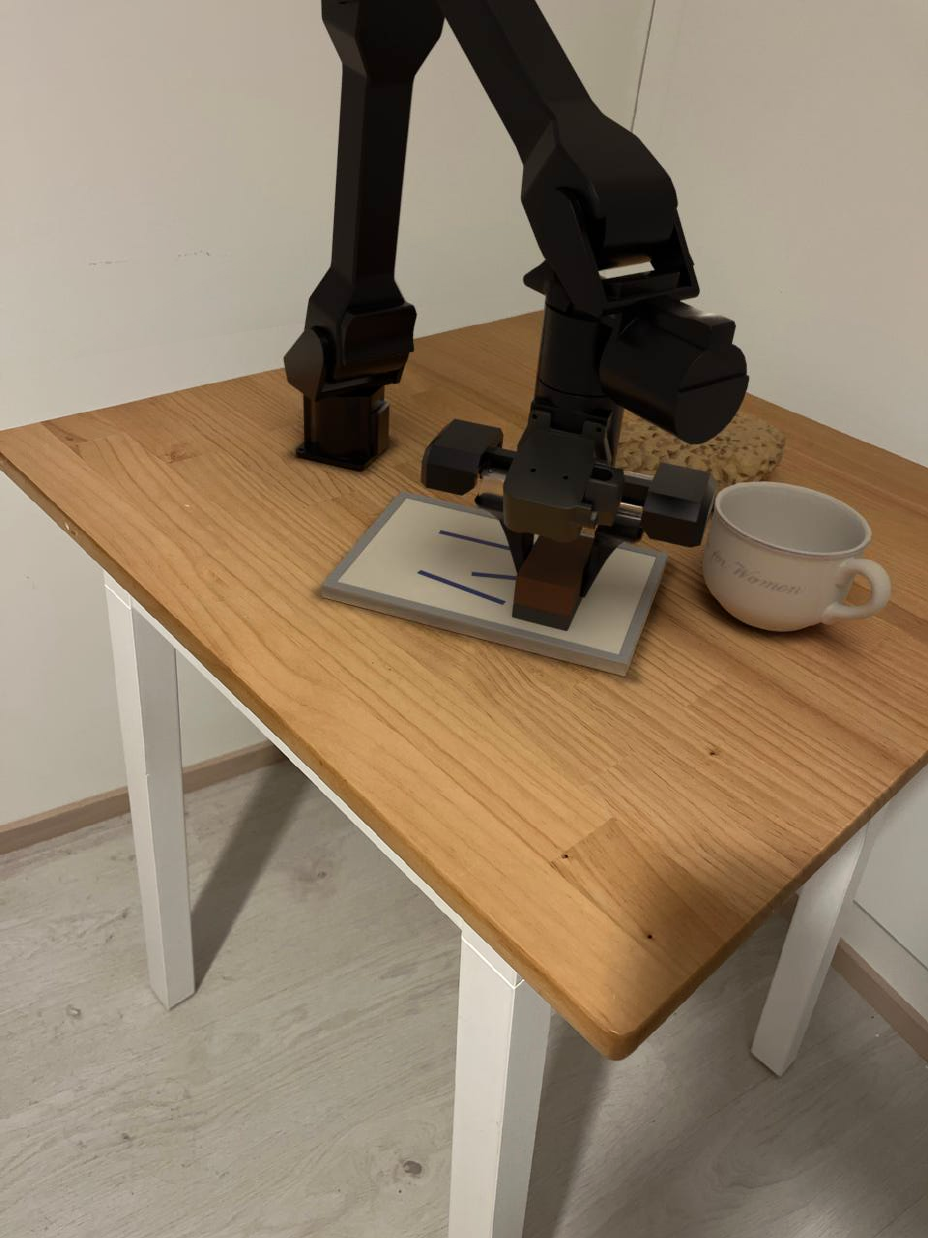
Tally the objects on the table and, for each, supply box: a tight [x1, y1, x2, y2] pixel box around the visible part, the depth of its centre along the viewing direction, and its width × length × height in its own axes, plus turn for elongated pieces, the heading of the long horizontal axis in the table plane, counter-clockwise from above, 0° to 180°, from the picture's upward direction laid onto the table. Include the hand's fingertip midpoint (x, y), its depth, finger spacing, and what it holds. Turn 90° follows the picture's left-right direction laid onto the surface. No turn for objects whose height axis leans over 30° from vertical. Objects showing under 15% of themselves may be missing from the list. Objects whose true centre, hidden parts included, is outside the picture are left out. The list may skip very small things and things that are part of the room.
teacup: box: [702, 480, 892, 633], centre depth 75 cm, size 14×11×8 cm
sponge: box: [615, 410, 787, 502], centre depth 91 cm, size 13×8×20 cm
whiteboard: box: [321, 490, 670, 678], centre depth 79 cm, size 22×15×1 cm
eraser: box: [512, 535, 594, 631], centre depth 75 cm, size 4×7×4 cm, turn 161°
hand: (553, 587), depth 75 cm, fingers closed on eraser, 4 cm apart
